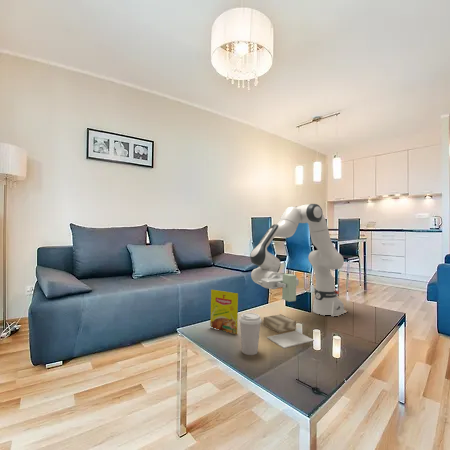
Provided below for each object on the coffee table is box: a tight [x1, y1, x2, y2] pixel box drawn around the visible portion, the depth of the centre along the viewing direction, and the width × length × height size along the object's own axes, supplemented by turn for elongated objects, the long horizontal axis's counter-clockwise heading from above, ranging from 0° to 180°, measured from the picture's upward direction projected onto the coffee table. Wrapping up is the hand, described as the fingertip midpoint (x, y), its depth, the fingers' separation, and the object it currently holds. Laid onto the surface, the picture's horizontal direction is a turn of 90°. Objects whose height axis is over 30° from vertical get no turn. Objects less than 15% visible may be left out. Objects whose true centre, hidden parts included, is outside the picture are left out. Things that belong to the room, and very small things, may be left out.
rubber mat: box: [266, 330, 315, 349], centre depth 123 cm, size 18×12×1 cm, turn 118°
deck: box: [263, 313, 297, 333], centre depth 139 cm, size 12×12×4 cm
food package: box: [209, 289, 239, 335], centre depth 131 cm, size 15×1×20 cm, turn 62°
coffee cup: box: [238, 312, 263, 356], centre depth 110 cm, size 10×10×15 cm
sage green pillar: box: [281, 273, 297, 303], centre depth 125 cm, size 4×5×12 cm
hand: (290, 285), depth 124 cm, fingers closed on sage green pillar, 4 cm apart
